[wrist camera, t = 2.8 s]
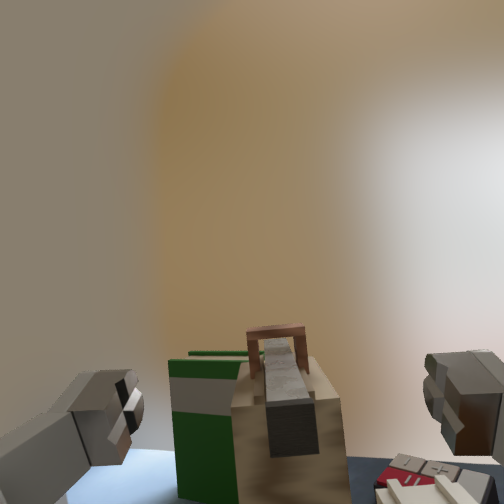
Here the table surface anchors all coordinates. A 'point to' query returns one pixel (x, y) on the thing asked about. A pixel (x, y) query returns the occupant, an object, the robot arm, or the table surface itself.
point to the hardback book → (205, 424)
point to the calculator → (423, 473)
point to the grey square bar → (288, 404)
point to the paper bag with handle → (256, 433)
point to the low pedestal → (424, 493)
